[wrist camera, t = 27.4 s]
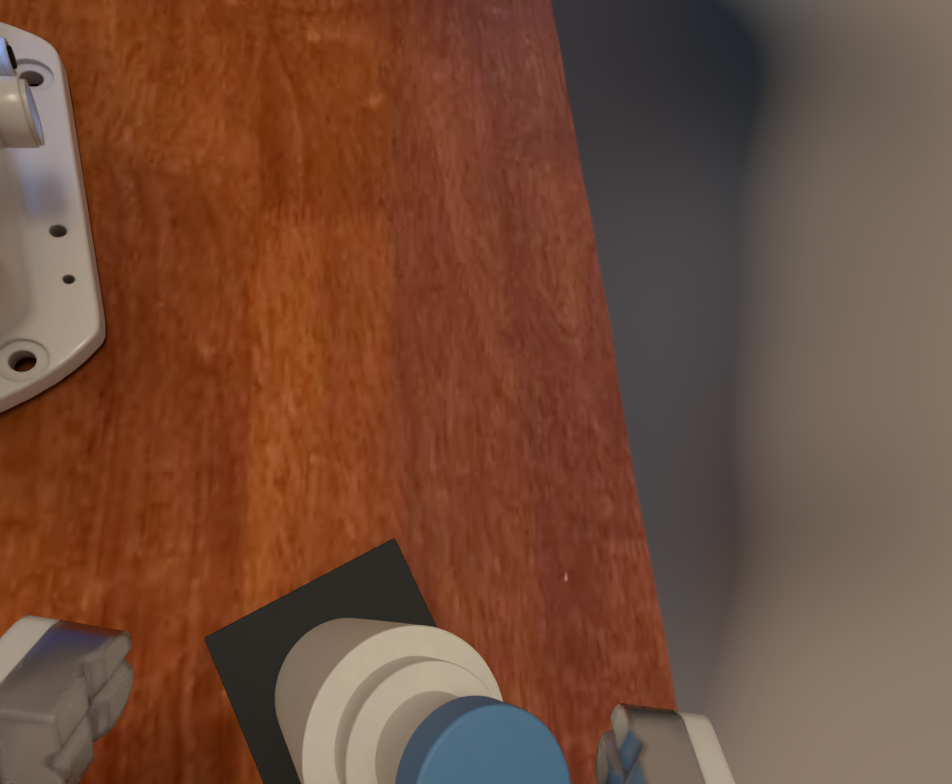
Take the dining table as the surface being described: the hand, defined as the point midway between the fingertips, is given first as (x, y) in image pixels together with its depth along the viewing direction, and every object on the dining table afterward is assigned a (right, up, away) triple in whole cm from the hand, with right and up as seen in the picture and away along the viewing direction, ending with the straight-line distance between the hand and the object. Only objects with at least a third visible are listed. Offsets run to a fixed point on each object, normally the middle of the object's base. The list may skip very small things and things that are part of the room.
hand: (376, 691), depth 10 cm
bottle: (-4, -6, +13) cm, 15 cm away
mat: (-4, -6, +13) cm, 15 cm away
